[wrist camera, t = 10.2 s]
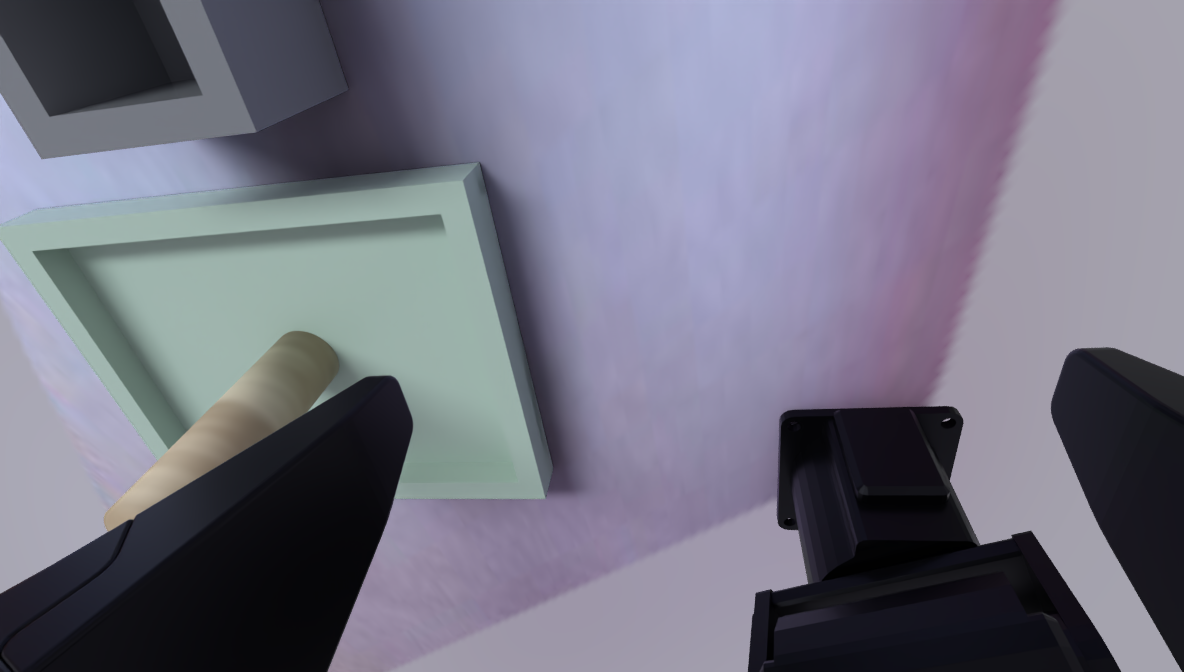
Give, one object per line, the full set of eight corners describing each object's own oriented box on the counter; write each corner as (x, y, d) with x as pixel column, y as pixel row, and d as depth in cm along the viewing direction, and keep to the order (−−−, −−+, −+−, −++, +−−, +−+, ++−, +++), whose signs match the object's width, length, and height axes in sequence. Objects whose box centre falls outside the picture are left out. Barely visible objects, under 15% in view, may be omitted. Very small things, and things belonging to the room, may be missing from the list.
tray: (553, 468, 28) (545, 499, 26) (208, 471, 31) (184, 498, 29) (479, 162, 20) (462, 180, 19) (36, 209, 23) (-9, 227, 22)
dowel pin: (348, 381, 25) (210, 565, 18) (292, 384, 26) (135, 565, 18) (324, 328, 24) (165, 503, 17) (266, 333, 25) (85, 505, 17)
